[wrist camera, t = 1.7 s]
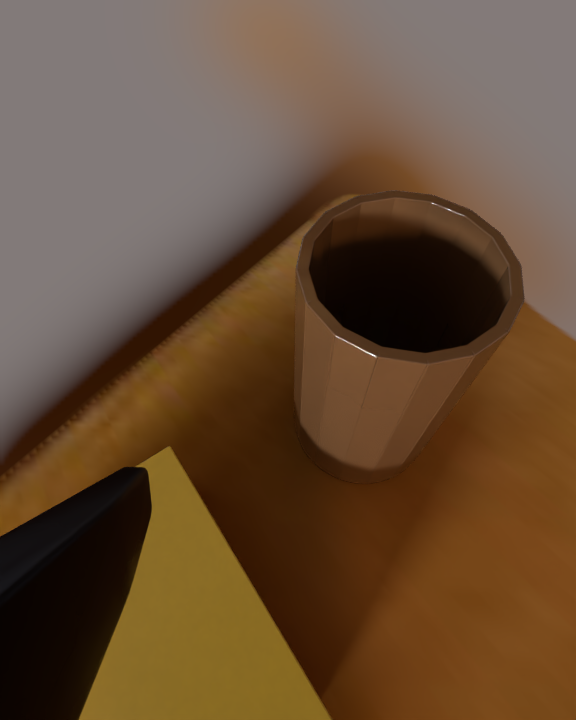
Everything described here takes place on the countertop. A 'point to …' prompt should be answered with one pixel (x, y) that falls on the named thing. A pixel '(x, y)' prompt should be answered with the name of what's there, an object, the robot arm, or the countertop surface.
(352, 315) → the brown faceted cup
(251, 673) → the yellow block
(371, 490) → the countertop surface
